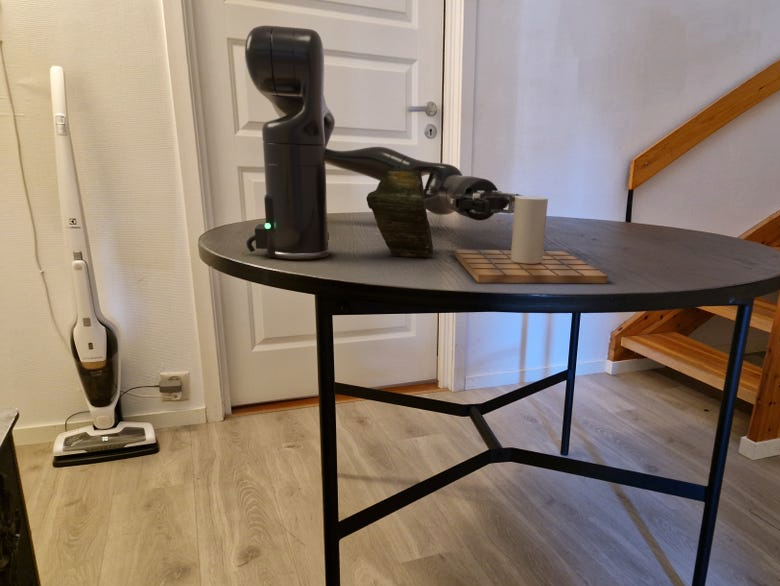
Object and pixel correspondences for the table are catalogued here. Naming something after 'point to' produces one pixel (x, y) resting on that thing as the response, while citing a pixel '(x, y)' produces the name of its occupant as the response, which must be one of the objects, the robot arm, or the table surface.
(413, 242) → the rock
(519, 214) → the white tin can
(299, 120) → the robot arm
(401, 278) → the table surface
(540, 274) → the board
